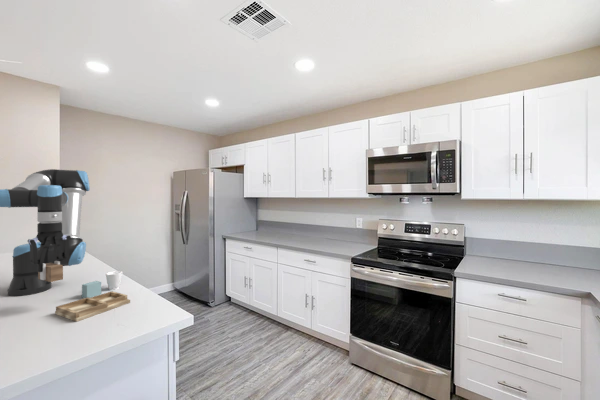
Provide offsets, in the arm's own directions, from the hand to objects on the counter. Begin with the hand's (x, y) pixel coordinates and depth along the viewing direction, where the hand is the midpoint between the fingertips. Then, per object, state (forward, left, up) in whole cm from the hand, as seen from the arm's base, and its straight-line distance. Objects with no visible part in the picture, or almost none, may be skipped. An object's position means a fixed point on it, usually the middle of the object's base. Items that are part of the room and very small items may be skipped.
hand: (50, 277), depth 112 cm
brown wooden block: (0, 0, -1) cm, 1 cm away
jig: (+18, +8, -12) cm, 23 cm away
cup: (-1, +26, -13) cm, 29 cm away
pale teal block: (+1, +15, -12) cm, 19 cm away
